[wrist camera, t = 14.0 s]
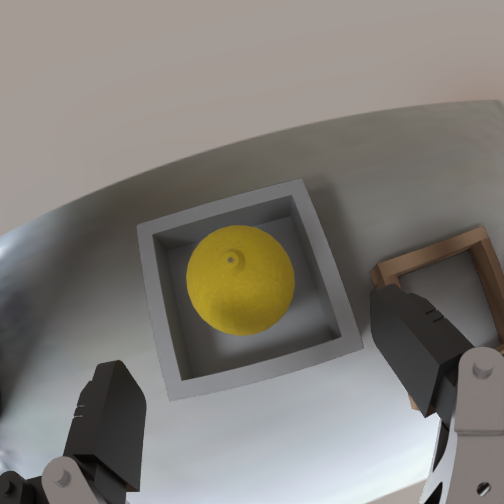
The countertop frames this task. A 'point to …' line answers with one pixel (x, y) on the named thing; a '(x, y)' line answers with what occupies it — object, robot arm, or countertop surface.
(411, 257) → the cradle
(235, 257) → the lemon
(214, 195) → the countertop surface
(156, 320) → the holder
